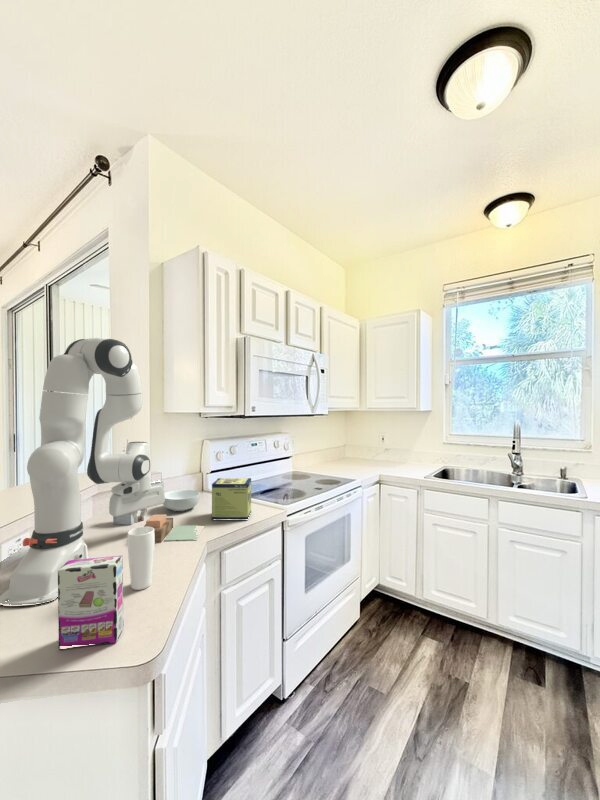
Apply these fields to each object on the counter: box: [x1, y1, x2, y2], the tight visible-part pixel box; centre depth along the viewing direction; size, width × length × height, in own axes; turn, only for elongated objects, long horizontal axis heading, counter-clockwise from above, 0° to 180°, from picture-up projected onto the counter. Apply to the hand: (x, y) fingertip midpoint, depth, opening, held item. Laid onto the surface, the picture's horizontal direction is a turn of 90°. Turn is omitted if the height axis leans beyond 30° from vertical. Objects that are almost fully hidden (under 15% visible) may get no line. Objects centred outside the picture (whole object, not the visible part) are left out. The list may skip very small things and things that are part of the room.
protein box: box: [211, 477, 252, 520], centre depth 151 cm, size 10×16×16 cm
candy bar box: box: [57, 555, 124, 647], centre depth 74 cm, size 11×5×16 cm, turn 101°
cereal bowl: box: [162, 489, 201, 512], centre depth 161 cm, size 17×17×7 cm
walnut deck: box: [143, 517, 174, 543], centre depth 130 cm, size 14×8×4 cm, turn 3°
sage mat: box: [163, 524, 199, 542], centre depth 132 cm, size 14×12×1 cm
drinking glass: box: [126, 525, 155, 591], centre depth 95 cm, size 7×7×15 cm
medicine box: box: [112, 513, 138, 526], centre depth 143 cm, size 8×4×9 cm, turn 84°
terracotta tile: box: [145, 513, 167, 528], centre depth 130 cm, size 7×5×2 cm
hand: (138, 521), depth 130 cm, fingers closed
